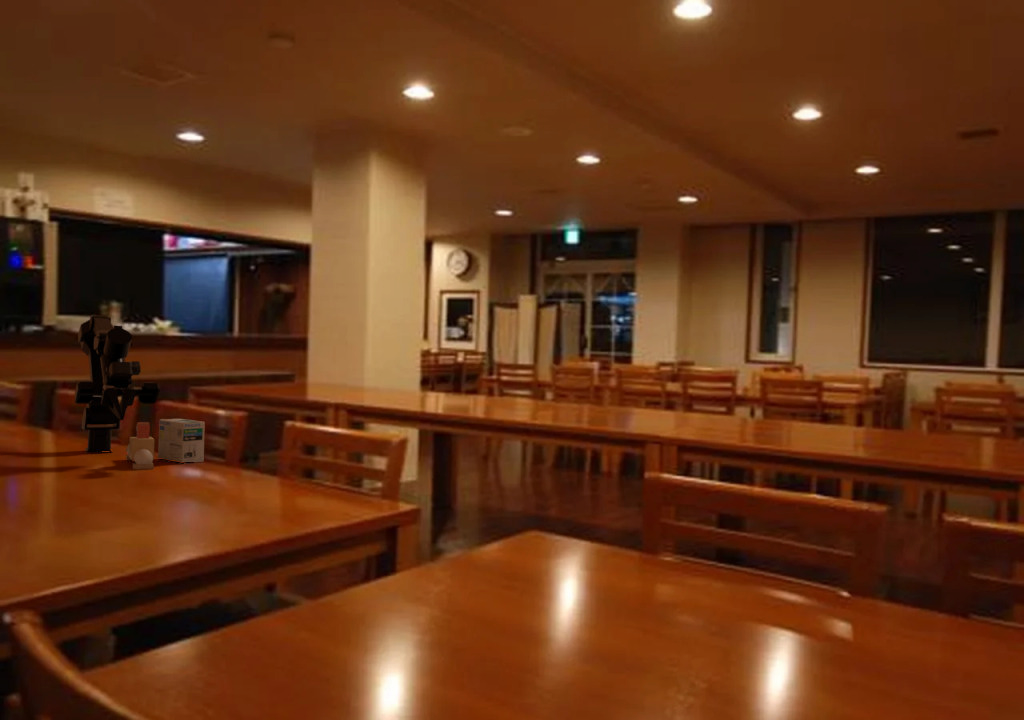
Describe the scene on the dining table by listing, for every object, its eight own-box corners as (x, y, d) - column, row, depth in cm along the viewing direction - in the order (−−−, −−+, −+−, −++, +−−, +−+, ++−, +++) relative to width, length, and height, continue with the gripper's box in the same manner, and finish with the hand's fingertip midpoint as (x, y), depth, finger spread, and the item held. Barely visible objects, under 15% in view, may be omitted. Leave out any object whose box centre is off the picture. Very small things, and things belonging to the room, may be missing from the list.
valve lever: (136, 438, 191) (137, 424, 191) (135, 432, 203) (136, 419, 203) (149, 438, 193) (150, 425, 193) (148, 432, 204) (148, 419, 204)
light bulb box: (204, 462, 214) (206, 421, 214) (182, 464, 208) (183, 422, 208) (178, 457, 220) (180, 417, 220) (156, 459, 214) (158, 418, 214)
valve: (124, 459, 211) (125, 426, 211) (144, 458, 214) (146, 426, 214) (132, 469, 197) (133, 434, 197) (154, 468, 199) (156, 434, 199)
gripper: (78, 348, 198) (84, 397, 189) (159, 351, 209) (169, 397, 200) (71, 378, 204) (77, 427, 196) (150, 379, 215) (159, 426, 207)
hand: (121, 418), depth 199 cm, fingers closed
